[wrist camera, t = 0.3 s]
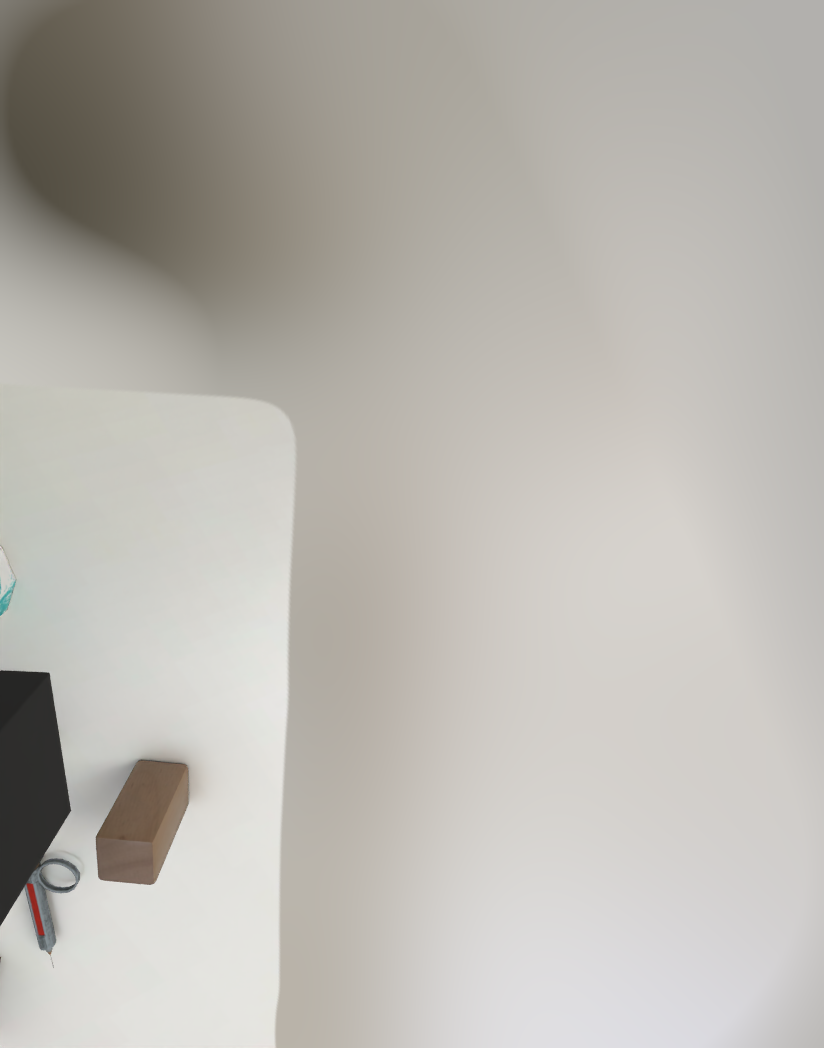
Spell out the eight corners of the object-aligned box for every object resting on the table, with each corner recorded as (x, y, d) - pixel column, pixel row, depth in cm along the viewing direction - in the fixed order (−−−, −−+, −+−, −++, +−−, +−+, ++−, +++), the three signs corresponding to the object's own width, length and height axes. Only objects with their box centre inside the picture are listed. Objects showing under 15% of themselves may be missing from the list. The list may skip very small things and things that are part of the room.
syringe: (14, 957, 65) (3, 975, 63) (-29, 792, 58) (-42, 808, 57) (102, 959, 65) (94, 978, 63) (69, 794, 58) (59, 810, 56)
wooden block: (137, 757, 57) (92, 837, 49) (189, 762, 57) (153, 842, 49) (138, 799, 58) (96, 882, 51) (190, 803, 58) (155, 887, 51)
